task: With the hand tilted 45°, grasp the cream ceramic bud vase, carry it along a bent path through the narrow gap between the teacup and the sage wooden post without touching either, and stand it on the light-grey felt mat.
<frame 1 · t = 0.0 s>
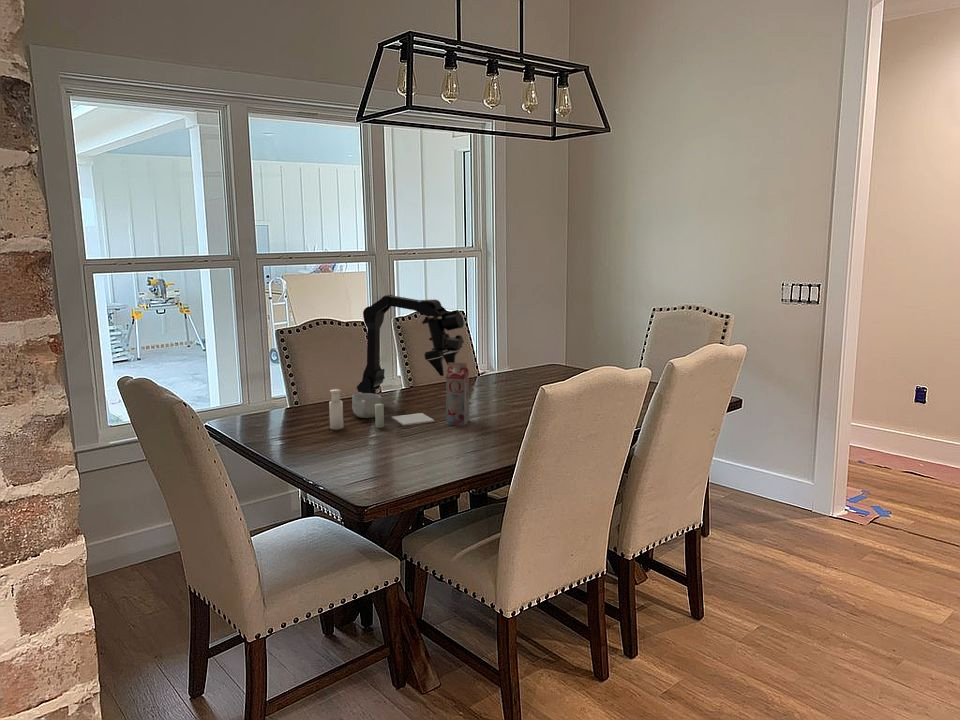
hand: (447, 373, 285), 15 cm above the table, tool pointing down, fingers open, 9 cm apart
post: (379, 426, 270), on the table
mat: (412, 419, 279), on the table
juice carton: (457, 423, 275), on the table
teacup: (365, 417, 283), on the table
vase: (336, 427, 268), on the table
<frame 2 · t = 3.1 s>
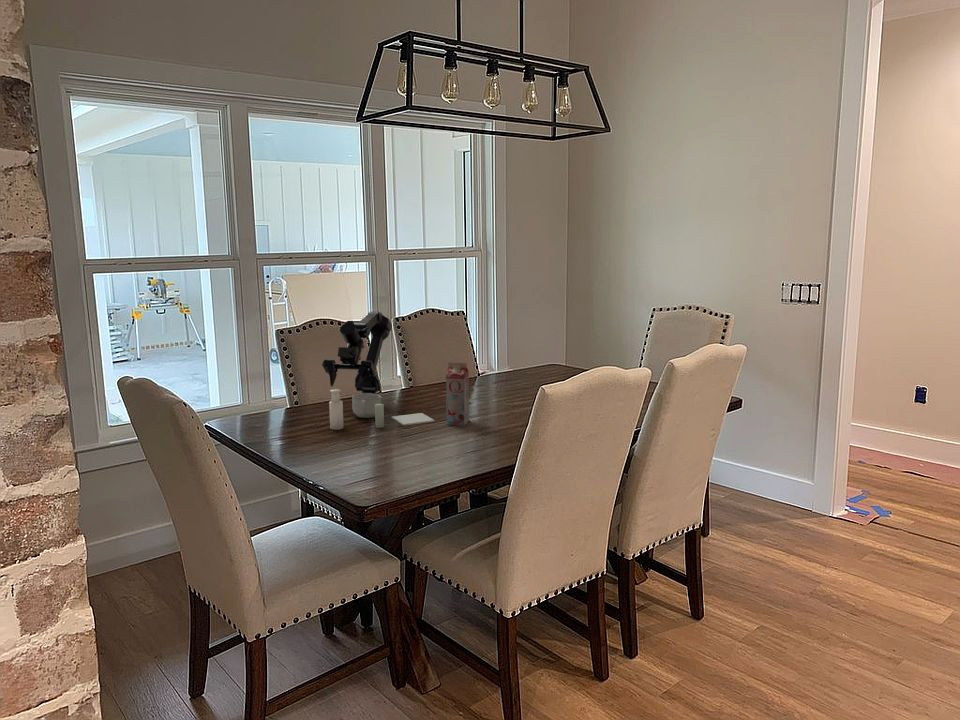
hand: (343, 386, 273), 13 cm above the table, tool tilted 45°, fingers open, 9 cm apart
nothing on the table moved.
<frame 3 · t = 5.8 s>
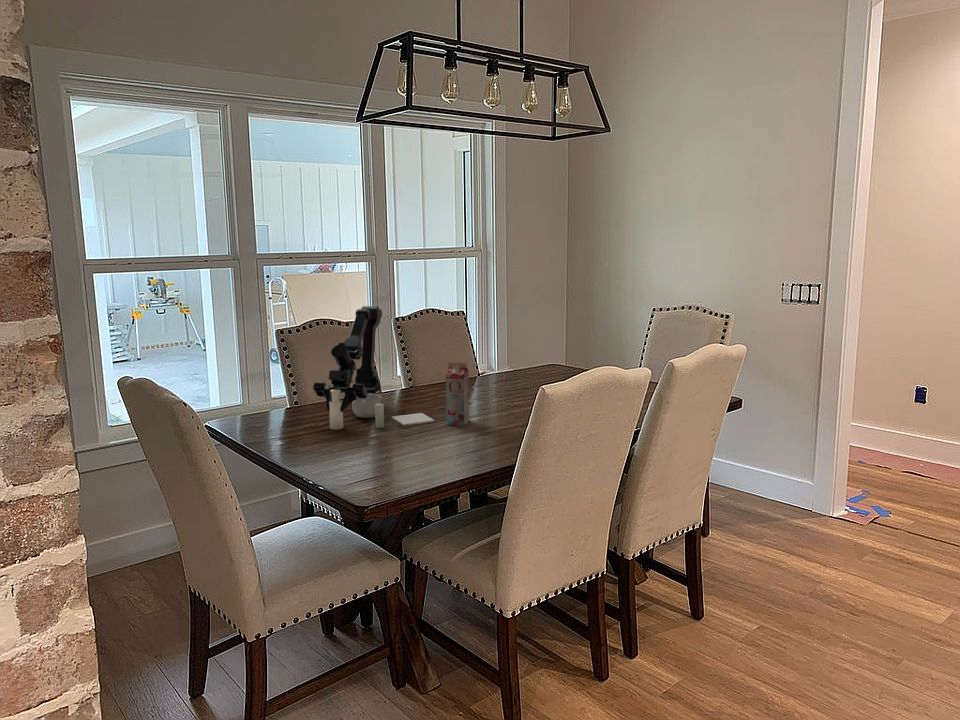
hand: (334, 410, 266), 7 cm above the table, tool tilted 45°, fingers closed on vase, 5 cm apart
vase: (336, 427, 268), on the table, touching gripper
everything else where it was.
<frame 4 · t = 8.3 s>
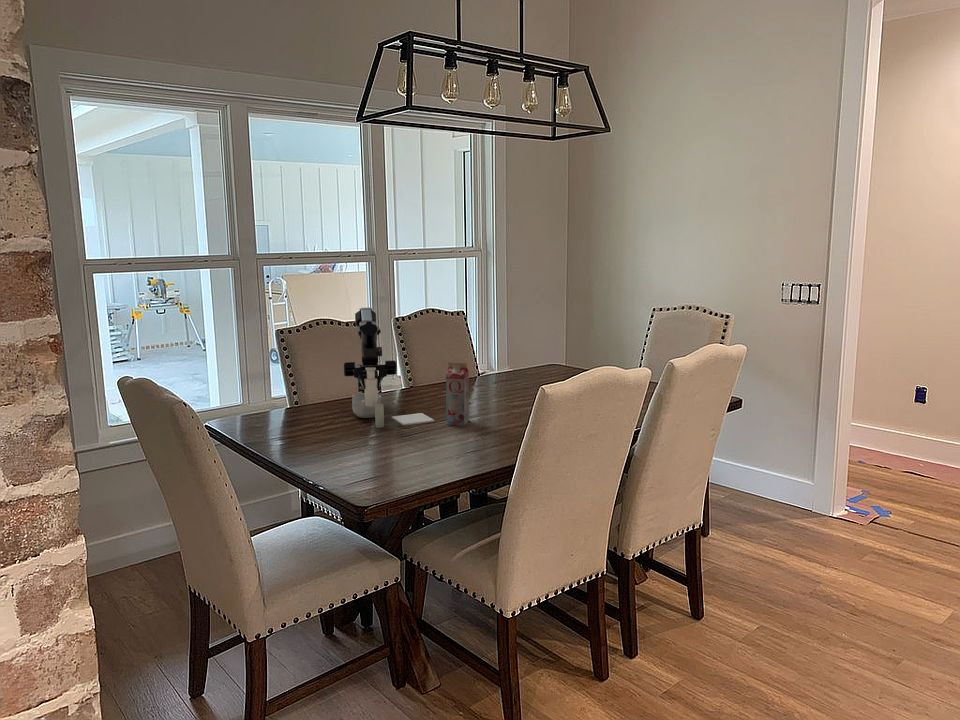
hand: (371, 387, 270), 13 cm above the table, tool tilted 45°, fingers closed on vase, 5 cm apart
vase: (371, 405, 273), point 7 cm above the table, touching gripper
everything else where it was.
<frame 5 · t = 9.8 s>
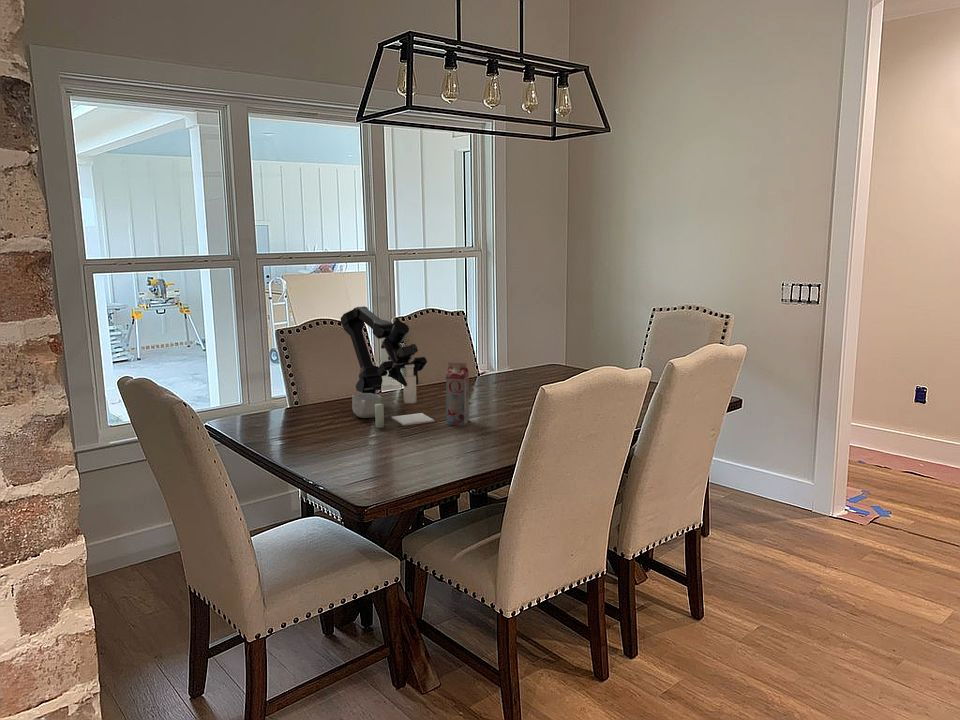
hand: (411, 384, 275), 13 cm above the table, tool tilted 45°, fingers closed on vase, 5 cm apart
vase: (410, 401, 277), point 7 cm above the table, touching gripper
everything else where it was.
when the fingers open (9 cm above the table, at t = 11.2 s): vase drops 1 cm, resting on mat.
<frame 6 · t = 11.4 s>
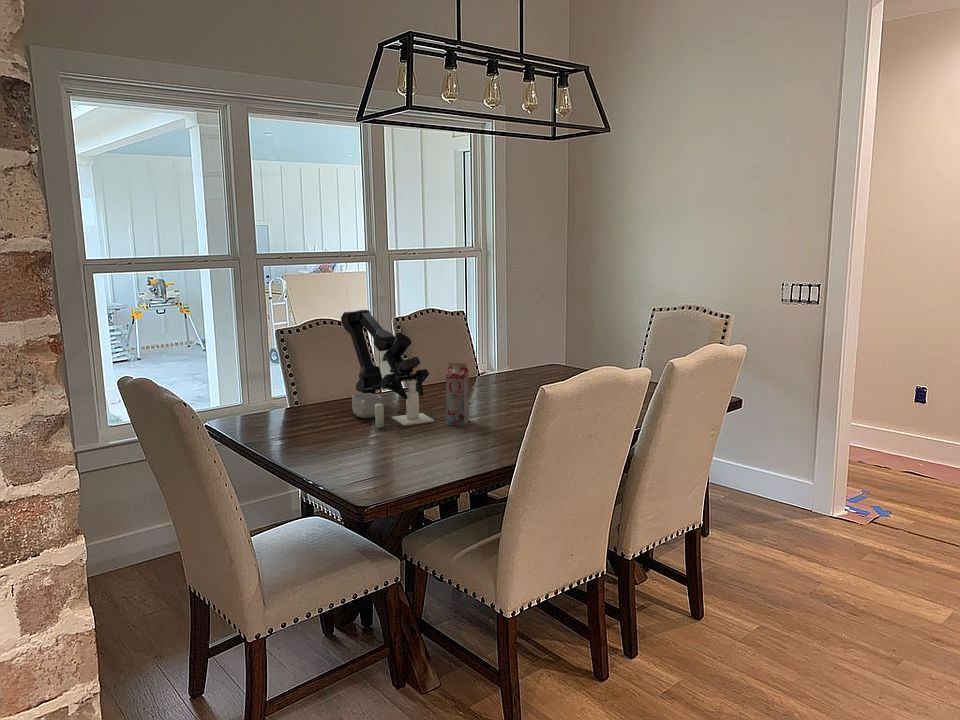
hand: (414, 397, 276), 9 cm above the table, tool tilted 45°, fingers open, 7 cm apart
vase: (412, 417, 279), point 1 cm above the table, touching mat
everything else where it was.
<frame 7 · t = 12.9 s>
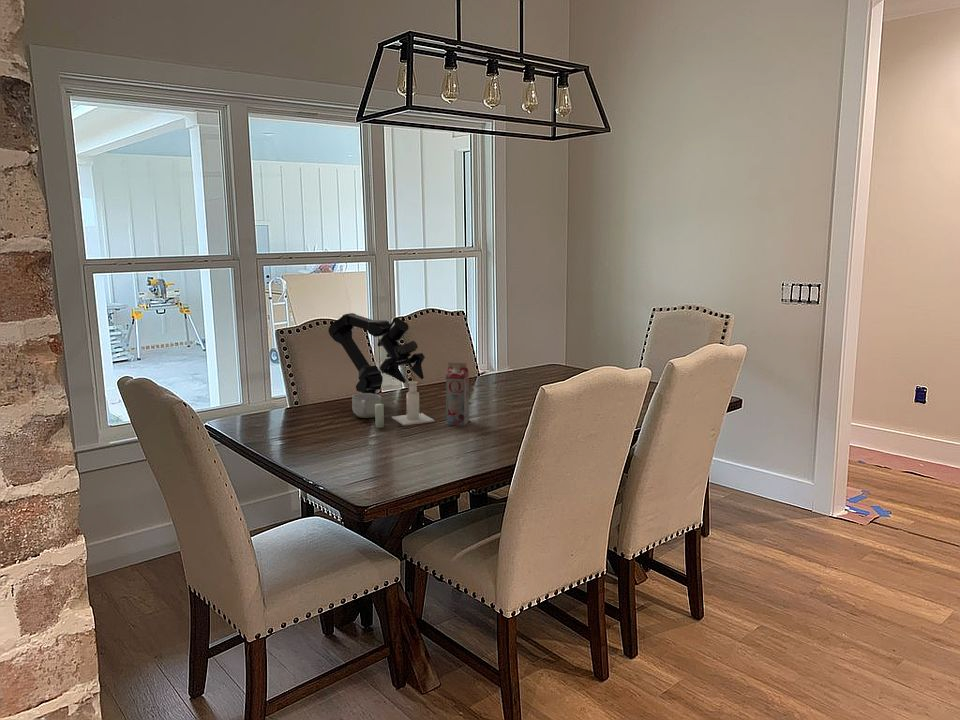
hand: (414, 380, 282), 14 cm above the table, tool tilted 45°, fingers open, 9 cm apart
nothing on the table moved.
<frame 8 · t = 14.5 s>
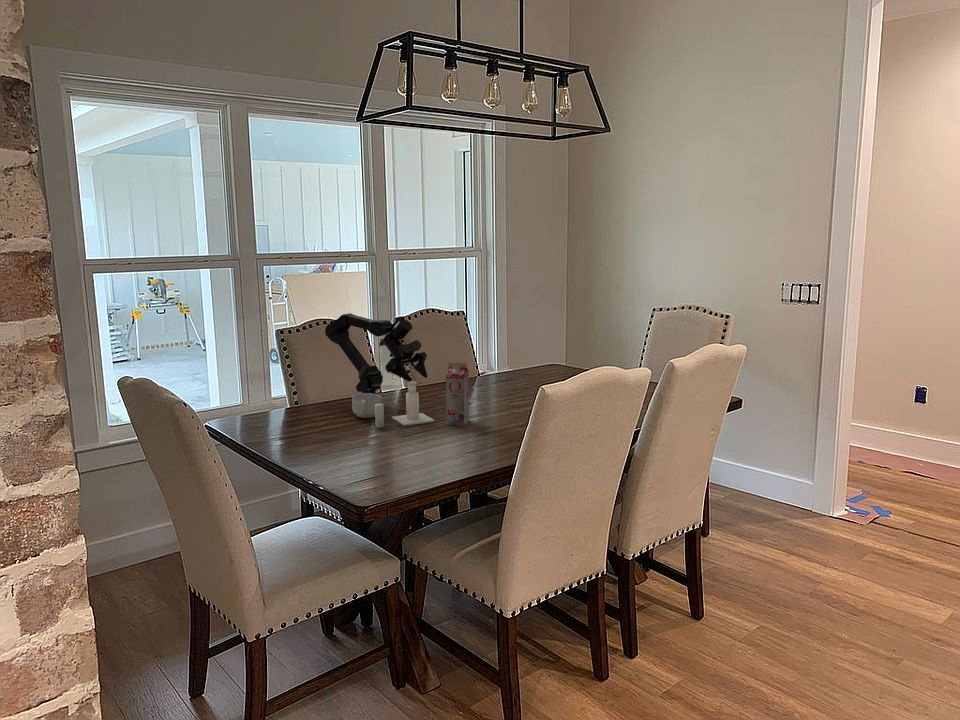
hand: (419, 379, 284), 14 cm above the table, tool tilted 45°, fingers open, 9 cm apart
nothing on the table moved.
at the end: vase inside the target area on the mat (0.0 cm from its centre), point 0.6 cm above the mat's base; vase tilted 1°; teacup moved 0.3 cm from its start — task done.
